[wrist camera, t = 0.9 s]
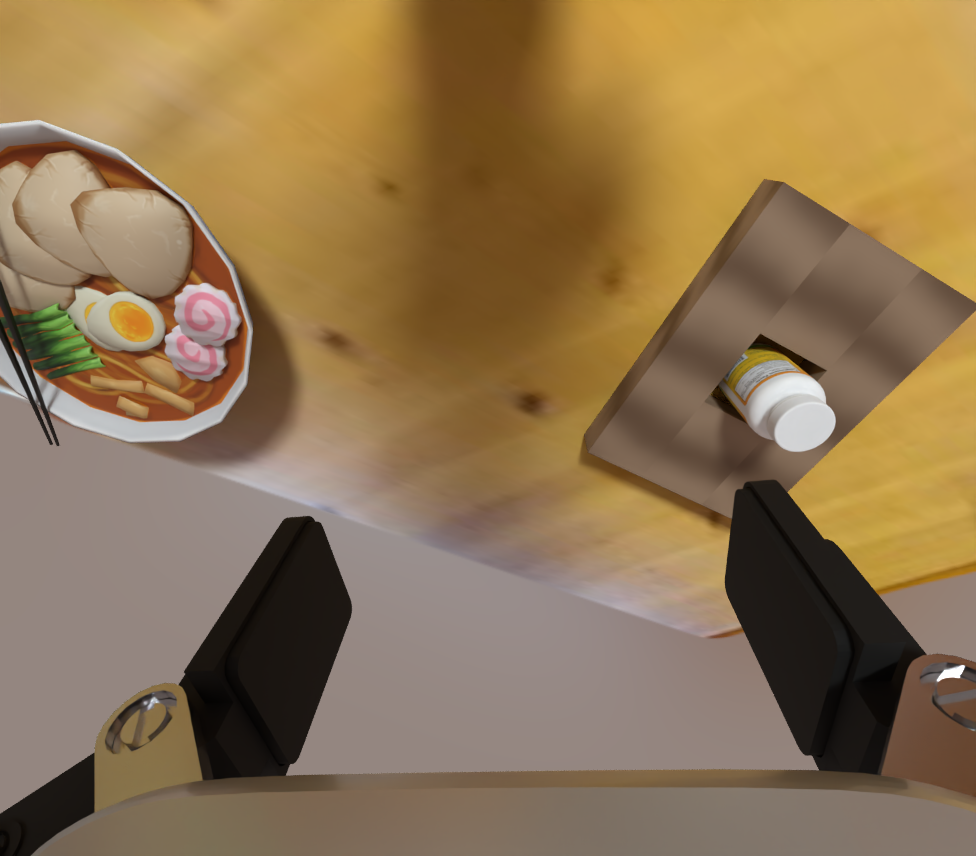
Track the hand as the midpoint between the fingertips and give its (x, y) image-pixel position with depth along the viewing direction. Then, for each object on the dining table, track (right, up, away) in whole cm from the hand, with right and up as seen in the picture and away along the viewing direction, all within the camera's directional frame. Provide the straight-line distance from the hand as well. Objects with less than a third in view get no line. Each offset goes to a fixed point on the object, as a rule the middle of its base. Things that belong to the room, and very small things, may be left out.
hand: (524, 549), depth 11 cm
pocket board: (+22, +8, +31) cm, 39 cm away
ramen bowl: (-28, +15, +30) cm, 44 cm away
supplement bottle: (+22, +8, +31) cm, 39 cm away
